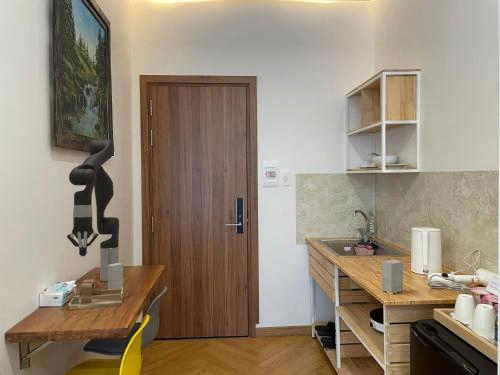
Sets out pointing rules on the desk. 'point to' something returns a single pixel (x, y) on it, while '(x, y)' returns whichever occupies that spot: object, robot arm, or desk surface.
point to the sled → (96, 289)
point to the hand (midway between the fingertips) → (82, 256)
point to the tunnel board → (95, 297)
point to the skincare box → (115, 276)
